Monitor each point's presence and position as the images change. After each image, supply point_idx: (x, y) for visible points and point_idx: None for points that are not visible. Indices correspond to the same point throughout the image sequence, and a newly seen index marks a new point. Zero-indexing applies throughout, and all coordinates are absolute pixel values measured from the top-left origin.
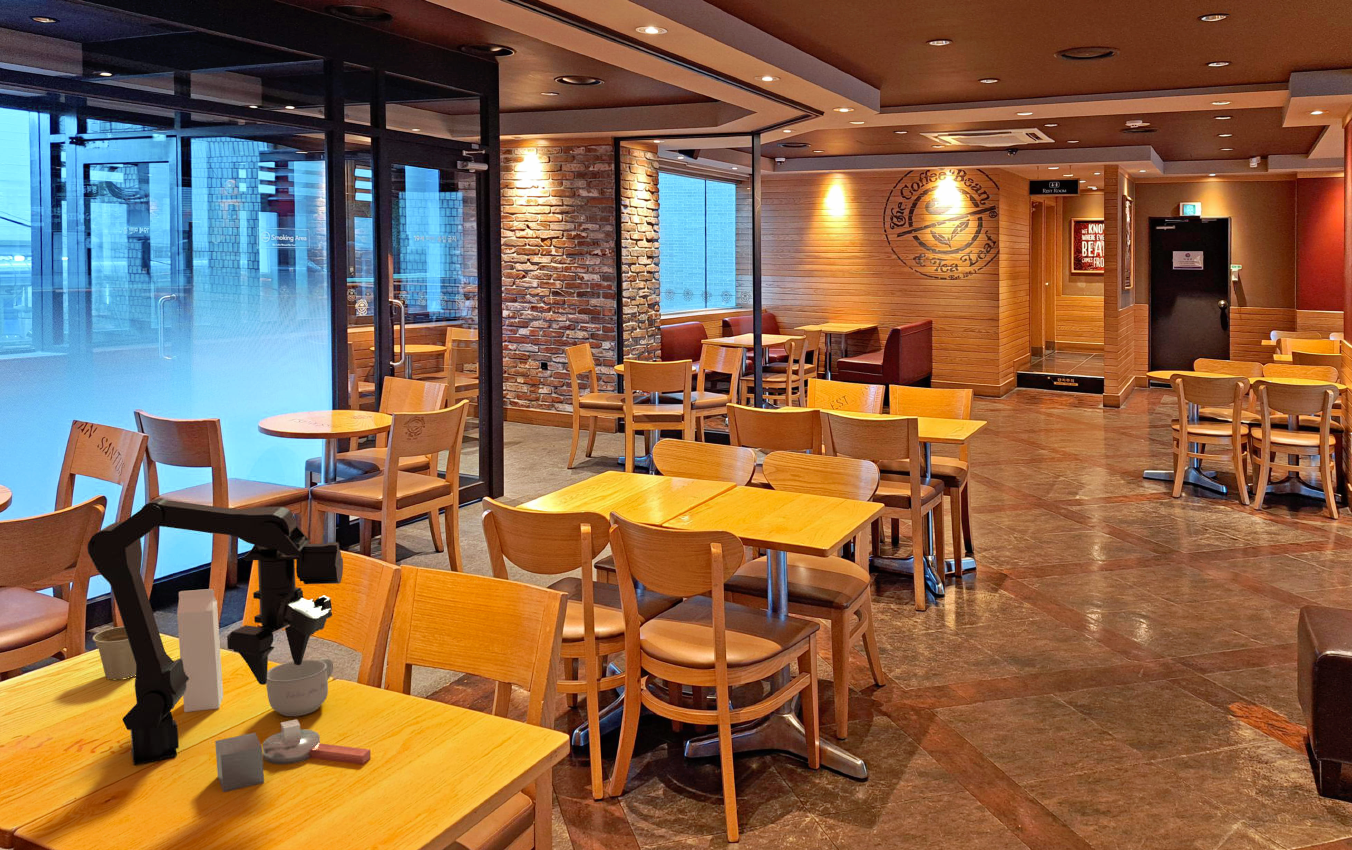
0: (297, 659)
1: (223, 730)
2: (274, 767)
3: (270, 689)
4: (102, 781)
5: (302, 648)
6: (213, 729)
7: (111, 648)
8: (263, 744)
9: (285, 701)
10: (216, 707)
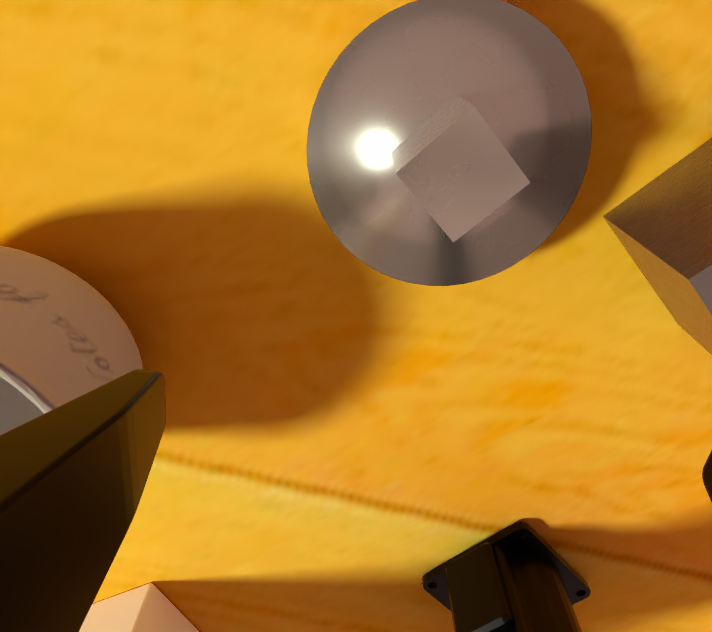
0: (144, 430)
1: (302, 493)
2: (603, 139)
3: None
4: (685, 601)
5: (43, 478)
6: (302, 522)
7: None
8: (500, 267)
9: None
10: (155, 590)
